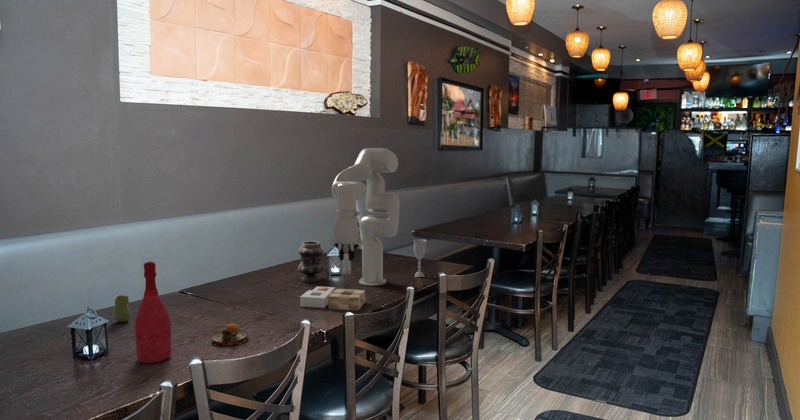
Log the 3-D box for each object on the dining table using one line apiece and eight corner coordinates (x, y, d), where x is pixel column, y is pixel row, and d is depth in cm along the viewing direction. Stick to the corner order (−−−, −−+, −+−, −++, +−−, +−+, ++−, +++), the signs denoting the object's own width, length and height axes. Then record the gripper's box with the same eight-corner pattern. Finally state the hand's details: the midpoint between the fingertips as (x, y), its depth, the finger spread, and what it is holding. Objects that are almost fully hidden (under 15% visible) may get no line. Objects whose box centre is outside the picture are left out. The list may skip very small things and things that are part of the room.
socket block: (314, 294, 241) (314, 285, 241) (337, 295, 239) (337, 286, 239) (300, 306, 224) (300, 296, 223) (324, 307, 222) (324, 298, 221)
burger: (234, 332, 194) (234, 311, 194) (255, 340, 187) (255, 318, 186) (203, 341, 185) (203, 319, 184) (224, 350, 178) (223, 327, 177)
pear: (111, 322, 203) (109, 295, 202) (124, 318, 208) (122, 291, 206) (120, 325, 200) (119, 297, 199) (134, 320, 205) (132, 294, 204)
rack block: (337, 300, 232) (337, 288, 232) (365, 301, 230) (365, 290, 230) (328, 308, 220) (328, 296, 220) (358, 310, 218) (357, 298, 218)
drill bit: (344, 272, 225) (343, 243, 224) (351, 273, 225) (351, 243, 223) (341, 274, 222) (341, 244, 221) (349, 274, 222) (349, 245, 220)
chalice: (425, 279, 268) (425, 242, 266) (411, 278, 269) (411, 241, 267) (427, 275, 275) (427, 239, 273) (413, 274, 277) (414, 238, 274)
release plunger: (320, 293, 238) (320, 287, 238) (328, 294, 238) (328, 287, 237) (317, 296, 235) (317, 289, 234) (325, 296, 234) (325, 289, 234)
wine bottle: (143, 352, 175) (138, 258, 171) (176, 352, 175) (171, 258, 172) (131, 365, 165) (125, 266, 161) (165, 364, 166) (160, 265, 162)
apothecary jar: (328, 280, 265) (327, 243, 262) (304, 284, 258) (304, 245, 256) (316, 275, 275) (316, 239, 272) (294, 278, 268) (293, 241, 266)
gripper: (369, 213, 223) (369, 259, 225) (329, 212, 226) (329, 257, 228) (364, 216, 215) (364, 263, 218) (323, 215, 218) (324, 261, 221)
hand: (346, 259), depth 223 cm, fingers closed on drill bit, 3 cm apart
